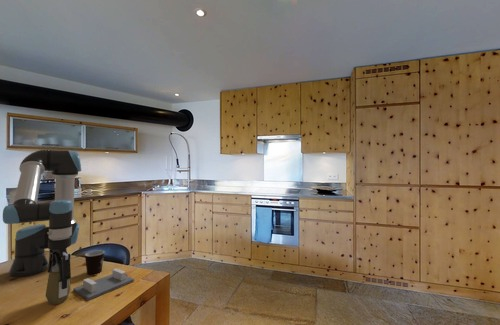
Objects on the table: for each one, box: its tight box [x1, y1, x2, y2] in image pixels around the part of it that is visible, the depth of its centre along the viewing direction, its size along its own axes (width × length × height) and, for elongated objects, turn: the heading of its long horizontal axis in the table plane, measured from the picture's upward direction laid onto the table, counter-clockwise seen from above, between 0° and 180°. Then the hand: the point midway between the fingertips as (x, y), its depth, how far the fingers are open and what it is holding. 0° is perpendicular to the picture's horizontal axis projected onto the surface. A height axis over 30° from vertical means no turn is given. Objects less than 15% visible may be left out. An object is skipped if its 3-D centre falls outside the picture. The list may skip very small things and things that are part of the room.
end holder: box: [72, 267, 135, 301], centre depth 111 cm, size 14×20×5 cm
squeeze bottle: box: [45, 261, 71, 306], centre depth 98 cm, size 8×8×18 cm
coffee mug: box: [84, 250, 105, 276], centre depth 126 cm, size 12×9×10 cm
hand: (58, 293), depth 98 cm, fingers closed on squeeze bottle, 8 cm apart
